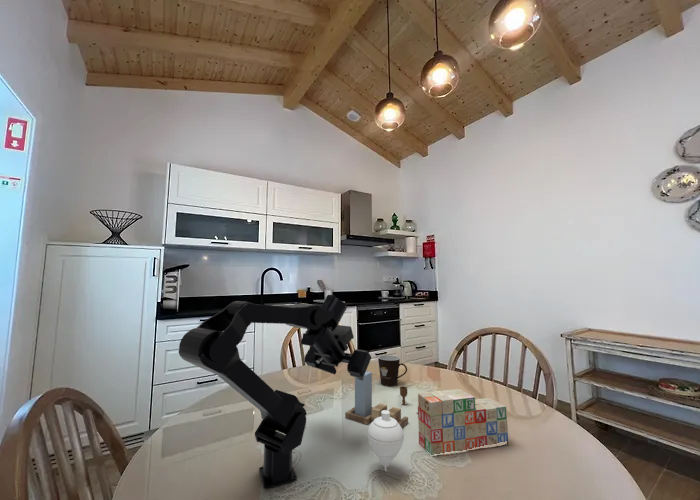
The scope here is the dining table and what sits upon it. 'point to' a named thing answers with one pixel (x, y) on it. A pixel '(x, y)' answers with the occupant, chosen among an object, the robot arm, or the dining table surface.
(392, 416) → the oak offcut
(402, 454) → the dining table surface
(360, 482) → the dining table surface
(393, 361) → the coffee mug
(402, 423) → the rack
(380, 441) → the spinning top
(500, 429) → the stack of blocks
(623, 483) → the dining table surface
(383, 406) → the oak offcut
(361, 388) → the batten
